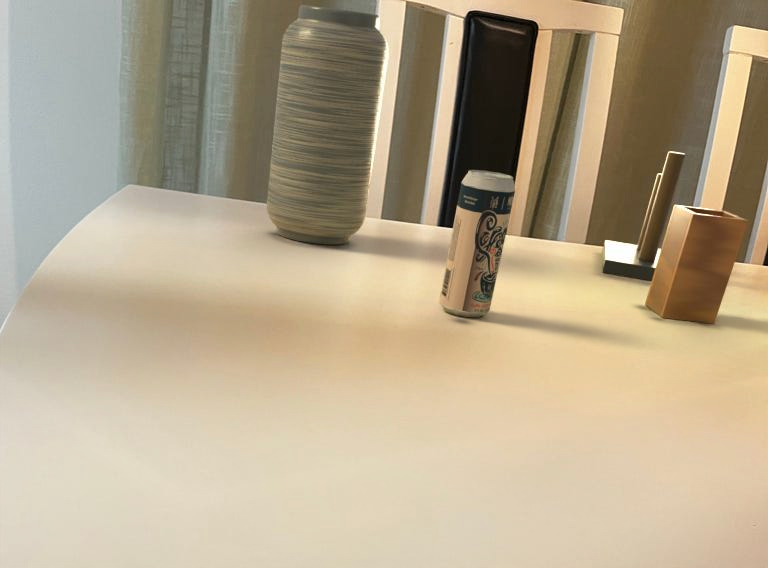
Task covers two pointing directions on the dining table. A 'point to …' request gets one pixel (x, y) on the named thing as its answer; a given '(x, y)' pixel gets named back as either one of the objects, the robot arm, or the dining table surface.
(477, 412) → the dining table surface
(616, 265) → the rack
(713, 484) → the dining table surface
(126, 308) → the dining table surface
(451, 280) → the drink can
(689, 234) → the sleeve
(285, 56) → the vase
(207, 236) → the dining table surface
